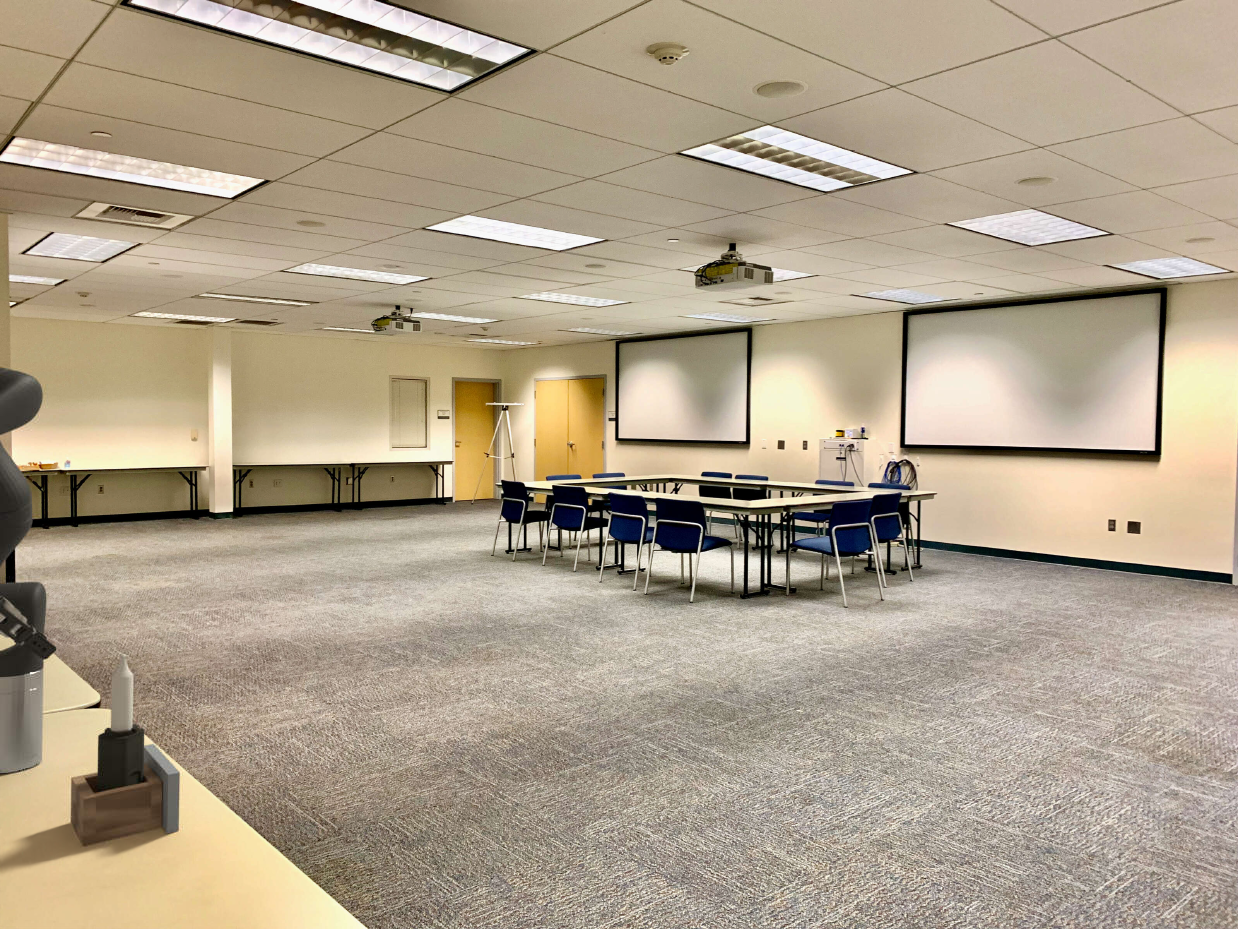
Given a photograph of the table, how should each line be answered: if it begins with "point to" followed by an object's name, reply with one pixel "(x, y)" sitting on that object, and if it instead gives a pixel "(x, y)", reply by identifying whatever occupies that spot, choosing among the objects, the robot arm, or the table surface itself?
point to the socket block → (115, 808)
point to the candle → (121, 737)
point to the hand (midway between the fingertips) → (46, 648)
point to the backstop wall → (165, 786)
